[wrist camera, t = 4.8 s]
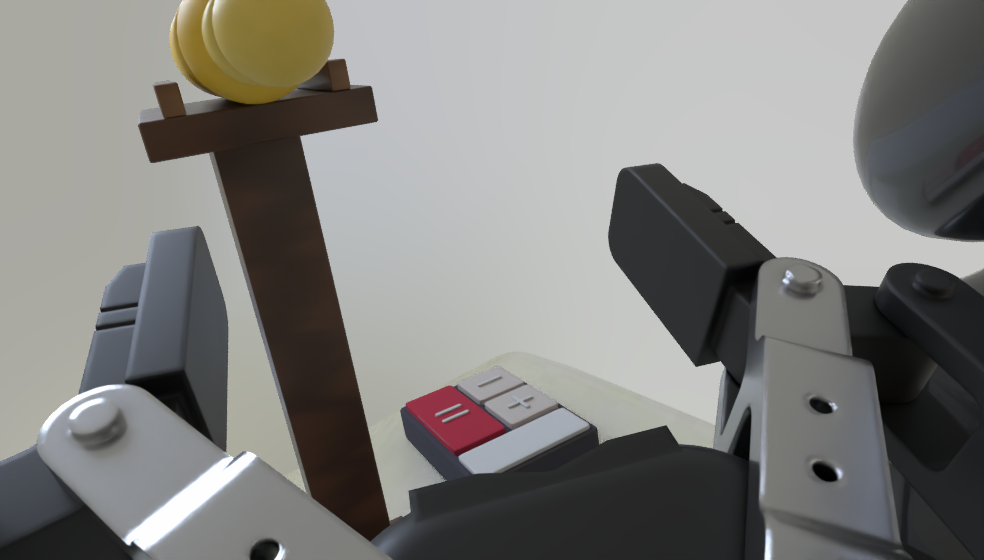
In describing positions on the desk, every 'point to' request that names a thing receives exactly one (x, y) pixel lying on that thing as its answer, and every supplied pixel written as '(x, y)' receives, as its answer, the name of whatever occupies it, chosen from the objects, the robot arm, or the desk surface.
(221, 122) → the stand
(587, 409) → the desk surface
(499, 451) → the calculator
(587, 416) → the desk surface
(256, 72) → the yellow bottle
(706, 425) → the desk surface
